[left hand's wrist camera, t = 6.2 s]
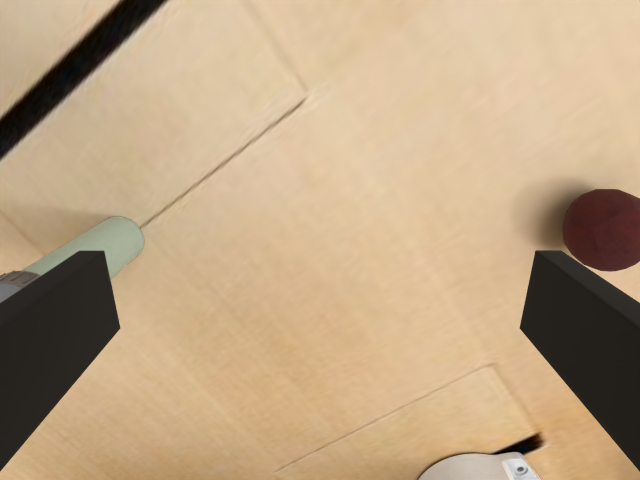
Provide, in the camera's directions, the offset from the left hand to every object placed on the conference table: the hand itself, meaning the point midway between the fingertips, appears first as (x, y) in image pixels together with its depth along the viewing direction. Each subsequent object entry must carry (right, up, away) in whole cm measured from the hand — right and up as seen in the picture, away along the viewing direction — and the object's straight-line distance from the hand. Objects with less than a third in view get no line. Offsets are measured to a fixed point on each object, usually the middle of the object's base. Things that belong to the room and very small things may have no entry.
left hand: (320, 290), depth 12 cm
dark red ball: (+27, +4, +28) cm, 39 cm away
